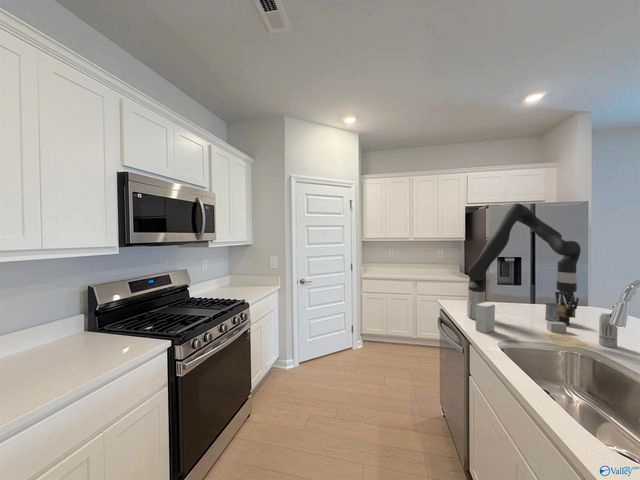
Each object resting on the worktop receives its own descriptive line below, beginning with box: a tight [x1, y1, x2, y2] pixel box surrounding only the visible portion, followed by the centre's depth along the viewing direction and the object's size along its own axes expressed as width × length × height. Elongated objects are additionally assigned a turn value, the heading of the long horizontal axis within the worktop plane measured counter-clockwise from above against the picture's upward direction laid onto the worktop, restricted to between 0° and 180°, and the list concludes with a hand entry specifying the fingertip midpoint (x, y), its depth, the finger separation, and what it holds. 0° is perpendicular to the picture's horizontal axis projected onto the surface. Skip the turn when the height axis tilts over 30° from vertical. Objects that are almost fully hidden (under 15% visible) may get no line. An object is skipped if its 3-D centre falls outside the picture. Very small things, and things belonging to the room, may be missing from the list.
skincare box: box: [475, 301, 496, 334], centre depth 153 cm, size 8×6×15 cm
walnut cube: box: [556, 303, 576, 319], centre depth 139 cm, size 5×5×5 cm
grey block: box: [546, 320, 567, 334], centre depth 151 cm, size 7×4×5 cm, turn 77°
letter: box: [539, 332, 596, 350], centre depth 139 cm, size 14×18×1 cm
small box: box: [545, 302, 571, 326], centre depth 166 cm, size 11×6×10 cm, turn 179°
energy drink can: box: [598, 312, 618, 349], centre depth 132 cm, size 6×6×15 cm
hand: (565, 314), depth 139 cm, fingers closed on walnut cube, 5 cm apart
